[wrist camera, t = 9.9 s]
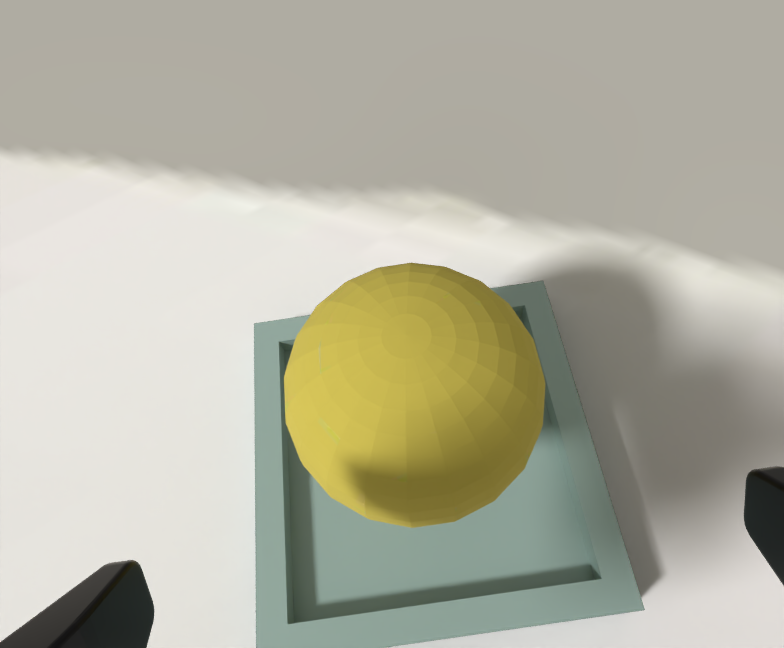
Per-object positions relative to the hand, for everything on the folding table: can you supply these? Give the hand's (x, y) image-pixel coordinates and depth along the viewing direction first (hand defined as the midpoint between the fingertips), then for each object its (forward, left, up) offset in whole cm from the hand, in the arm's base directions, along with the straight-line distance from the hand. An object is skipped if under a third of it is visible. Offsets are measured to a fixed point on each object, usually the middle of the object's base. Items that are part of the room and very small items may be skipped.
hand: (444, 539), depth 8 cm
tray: (+4, 0, -12) cm, 13 cm away
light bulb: (+4, 0, -12) cm, 12 cm away
